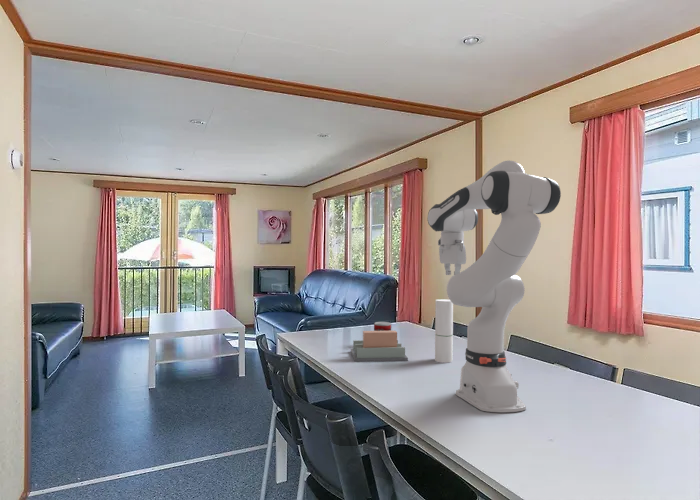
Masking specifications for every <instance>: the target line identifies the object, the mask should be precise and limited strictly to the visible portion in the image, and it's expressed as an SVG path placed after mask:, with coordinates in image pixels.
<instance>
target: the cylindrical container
mask: <svg viewBox="0 0 700 500" xmlns="http://www.w3.org/2000/svg"><path fill="white" fill-rule="evenodd" d="M434 312H435V317H434V318H435V322H434V330H435V331H434V333H435V334H434V361H435V362H437V363H443V364H449V363H452V362H453V356H454V355H453V352H454V350H453V346H454V345H453V340H454V339H453V338H454V304H453V303H452V302H451V301H450V299H448V298H447V299H444V298H443V299H441V298H440V299H435V311H434Z"/></svg>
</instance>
